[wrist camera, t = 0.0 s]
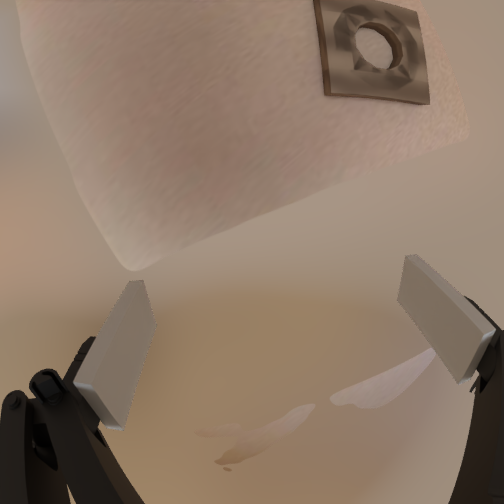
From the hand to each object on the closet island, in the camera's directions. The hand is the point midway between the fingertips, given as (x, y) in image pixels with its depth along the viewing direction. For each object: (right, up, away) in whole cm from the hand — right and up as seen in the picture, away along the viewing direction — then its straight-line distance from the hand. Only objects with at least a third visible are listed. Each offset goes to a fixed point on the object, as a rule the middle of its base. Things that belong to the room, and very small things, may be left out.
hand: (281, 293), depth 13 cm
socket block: (+16, +31, +17) cm, 39 cm away
